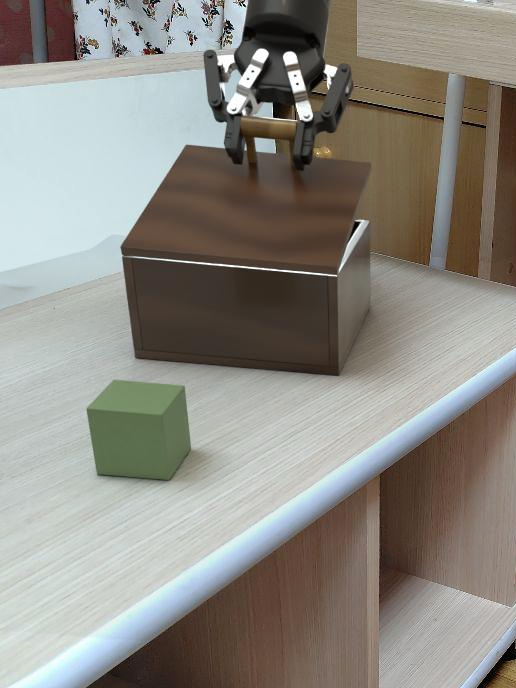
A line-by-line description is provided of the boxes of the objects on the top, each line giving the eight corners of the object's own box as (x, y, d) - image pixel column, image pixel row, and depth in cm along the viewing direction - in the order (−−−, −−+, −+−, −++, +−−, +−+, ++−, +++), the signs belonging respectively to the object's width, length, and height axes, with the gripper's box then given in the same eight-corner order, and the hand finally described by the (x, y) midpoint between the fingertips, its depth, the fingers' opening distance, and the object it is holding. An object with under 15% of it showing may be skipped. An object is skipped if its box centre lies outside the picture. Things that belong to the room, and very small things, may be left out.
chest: (198, 291, 101) (190, 203, 97) (370, 307, 102) (370, 220, 97) (134, 357, 85) (121, 256, 81) (338, 375, 86) (337, 276, 82)
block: (96, 474, 68) (85, 408, 65) (122, 442, 72) (113, 379, 70) (169, 480, 68) (162, 414, 66) (191, 448, 72) (185, 385, 70)
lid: (187, 152, 95) (178, 99, 91) (371, 170, 95) (369, 118, 92) (121, 255, 81) (108, 197, 77) (337, 275, 82) (334, 219, 78)
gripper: (369, 40, 98) (350, 193, 94) (223, 25, 97) (198, 178, 94) (360, -18, 91) (339, 145, 87) (202, -35, 90) (174, 129, 86)
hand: (266, 161), depth 90 cm, fingers closed on lid, 5 cm apart
